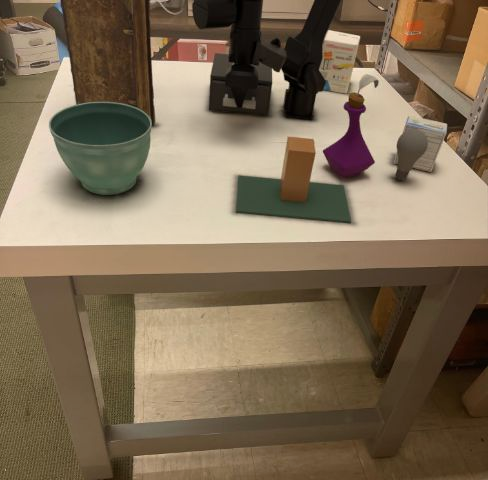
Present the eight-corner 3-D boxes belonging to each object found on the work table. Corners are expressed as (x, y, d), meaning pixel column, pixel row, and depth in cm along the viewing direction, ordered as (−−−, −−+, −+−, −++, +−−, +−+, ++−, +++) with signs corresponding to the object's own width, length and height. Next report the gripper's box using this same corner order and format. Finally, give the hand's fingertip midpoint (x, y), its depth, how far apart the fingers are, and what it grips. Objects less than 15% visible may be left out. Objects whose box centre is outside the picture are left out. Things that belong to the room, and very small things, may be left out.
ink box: (314, 88, 127) (323, 38, 119) (318, 77, 133) (327, 28, 125) (347, 94, 127) (359, 44, 118) (349, 82, 133) (360, 34, 124)
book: (73, 114, 105) (50, -27, 87) (95, 103, 109) (77, -33, 91) (137, 137, 100) (127, -7, 82) (157, 125, 105) (152, -14, 87)
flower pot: (52, 205, 81) (39, 142, 73) (69, 157, 92) (58, 98, 84) (152, 208, 83) (149, 147, 75) (156, 161, 94) (153, 103, 86)
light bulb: (414, 189, 95) (433, 139, 88) (385, 183, 96) (402, 134, 89) (413, 175, 99) (431, 127, 92) (386, 170, 100) (401, 121, 93)
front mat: (343, 187, 94) (343, 185, 93) (350, 223, 85) (351, 221, 85) (238, 177, 93) (238, 175, 92) (235, 212, 84) (236, 210, 84)
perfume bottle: (340, 184, 94) (365, 86, 81) (318, 165, 99) (339, 70, 86) (371, 177, 97) (399, 82, 84) (348, 160, 101) (372, 66, 89)
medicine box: (432, 163, 104) (448, 123, 97) (431, 173, 101) (447, 132, 94) (395, 155, 105) (408, 114, 99) (392, 164, 102) (406, 123, 96)
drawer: (266, 122, 108) (269, 95, 104) (209, 117, 108) (210, 89, 104) (265, 91, 121) (268, 66, 117) (215, 86, 120) (216, 60, 116)
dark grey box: (268, 116, 113) (272, 81, 108) (209, 110, 112) (210, 75, 107) (267, 91, 123) (271, 58, 118) (213, 86, 123) (215, 52, 117)
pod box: (303, 188, 91) (313, 138, 84) (305, 202, 88) (315, 152, 81) (279, 185, 91) (287, 136, 84) (280, 200, 88) (288, 149, 81)
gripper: (289, 44, 88) (277, 129, 99) (285, 15, 101) (275, 93, 112) (227, 38, 88) (222, 124, 99) (231, 10, 101) (227, 89, 112)
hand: (239, 107), depth 105 cm, fingers closed
